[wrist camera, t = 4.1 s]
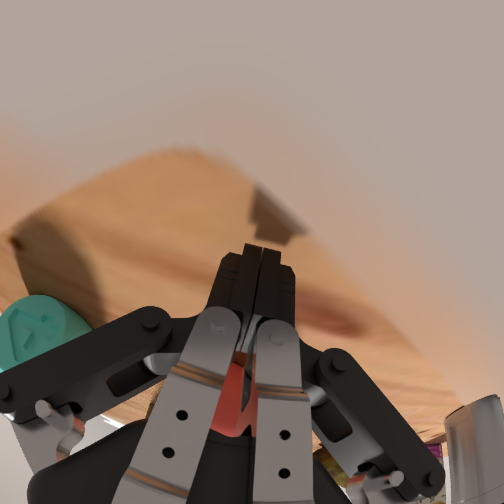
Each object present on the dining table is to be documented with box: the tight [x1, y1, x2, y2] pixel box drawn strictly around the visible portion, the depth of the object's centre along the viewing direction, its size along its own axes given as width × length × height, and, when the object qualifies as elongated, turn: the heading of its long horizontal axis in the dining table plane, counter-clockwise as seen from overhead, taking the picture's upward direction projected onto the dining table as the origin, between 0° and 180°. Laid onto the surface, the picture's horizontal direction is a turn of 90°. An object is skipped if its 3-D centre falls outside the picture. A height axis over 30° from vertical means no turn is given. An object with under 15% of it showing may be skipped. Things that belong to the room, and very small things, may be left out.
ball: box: [210, 363, 243, 437], centre depth 17 cm, size 6×6×6 cm
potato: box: [313, 446, 350, 488], centre depth 30 cm, size 8×13×8 cm, turn 48°
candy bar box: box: [412, 444, 446, 504], centre depth 31 cm, size 11×5×16 cm, turn 63°
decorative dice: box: [0, 295, 92, 373], centre depth 17 cm, size 8×8×8 cm
